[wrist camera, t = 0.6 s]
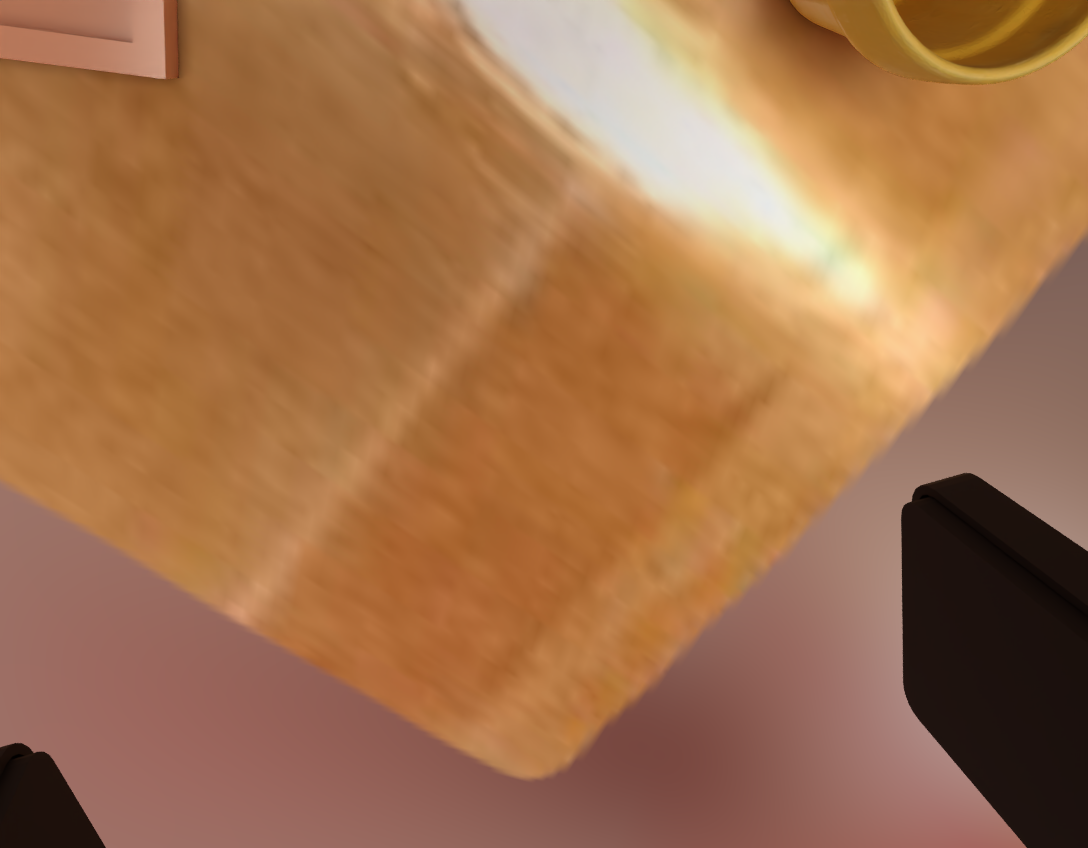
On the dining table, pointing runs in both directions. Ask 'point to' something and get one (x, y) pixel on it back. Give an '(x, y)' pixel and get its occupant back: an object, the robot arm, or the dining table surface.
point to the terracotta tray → (93, 34)
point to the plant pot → (955, 35)
